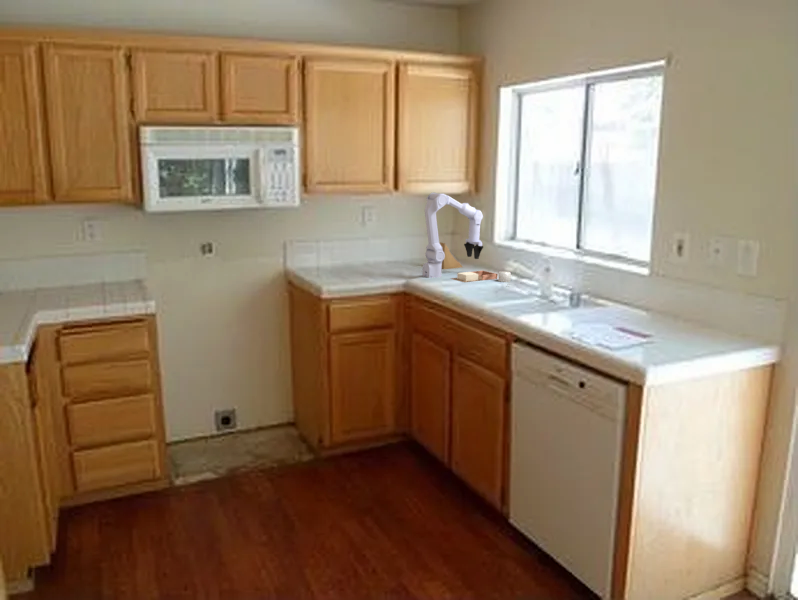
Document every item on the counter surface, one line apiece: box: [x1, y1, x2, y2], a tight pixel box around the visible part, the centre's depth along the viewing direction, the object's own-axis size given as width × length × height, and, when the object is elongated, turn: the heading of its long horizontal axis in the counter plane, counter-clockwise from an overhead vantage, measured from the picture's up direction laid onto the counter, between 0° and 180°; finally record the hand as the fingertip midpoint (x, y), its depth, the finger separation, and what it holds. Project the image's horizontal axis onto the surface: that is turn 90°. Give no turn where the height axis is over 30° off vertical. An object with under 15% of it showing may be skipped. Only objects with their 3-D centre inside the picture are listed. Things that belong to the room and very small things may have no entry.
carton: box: [456, 271, 478, 281], centre depth 344 cm, size 8×7×3 cm
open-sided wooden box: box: [449, 270, 499, 283], centre depth 347 cm, size 22×12×4 cm, turn 124°
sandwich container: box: [439, 241, 463, 270], centre depth 388 cm, size 9×15×15 cm, turn 128°
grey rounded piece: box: [497, 270, 511, 286], centre depth 342 cm, size 6×6×6 cm
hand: (472, 257), depth 361 cm, fingers open, 7 cm apart
